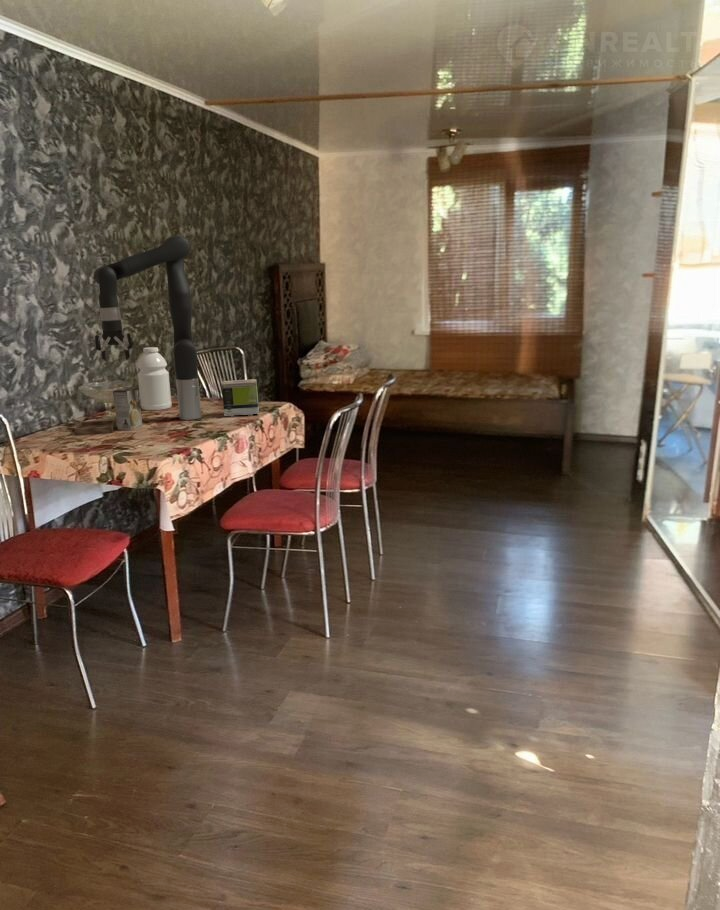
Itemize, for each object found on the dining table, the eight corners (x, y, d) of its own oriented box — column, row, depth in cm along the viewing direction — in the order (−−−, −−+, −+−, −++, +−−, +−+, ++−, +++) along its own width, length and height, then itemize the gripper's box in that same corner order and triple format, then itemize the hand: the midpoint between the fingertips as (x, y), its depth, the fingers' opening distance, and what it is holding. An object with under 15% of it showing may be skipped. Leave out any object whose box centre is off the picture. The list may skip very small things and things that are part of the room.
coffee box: (128, 425, 289) (124, 386, 285) (142, 425, 288) (138, 387, 283) (117, 430, 280) (112, 390, 276) (131, 430, 279) (127, 390, 275)
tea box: (259, 411, 311) (257, 378, 307) (258, 415, 301) (256, 382, 298) (225, 412, 309) (222, 380, 306) (223, 417, 300) (221, 383, 296)
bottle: (144, 405, 331) (138, 346, 324) (173, 404, 332) (168, 345, 325) (138, 411, 318) (131, 350, 310) (169, 409, 319) (163, 348, 312)
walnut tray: (116, 425, 288) (115, 419, 288) (112, 432, 275) (111, 426, 274) (81, 427, 285) (80, 422, 285) (75, 435, 272) (74, 429, 272)
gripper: (131, 317, 277) (136, 357, 282) (95, 319, 277) (101, 359, 281) (127, 318, 270) (132, 360, 275) (89, 320, 269) (95, 362, 274)
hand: (116, 360), depth 278 cm, fingers open, 8 cm apart
